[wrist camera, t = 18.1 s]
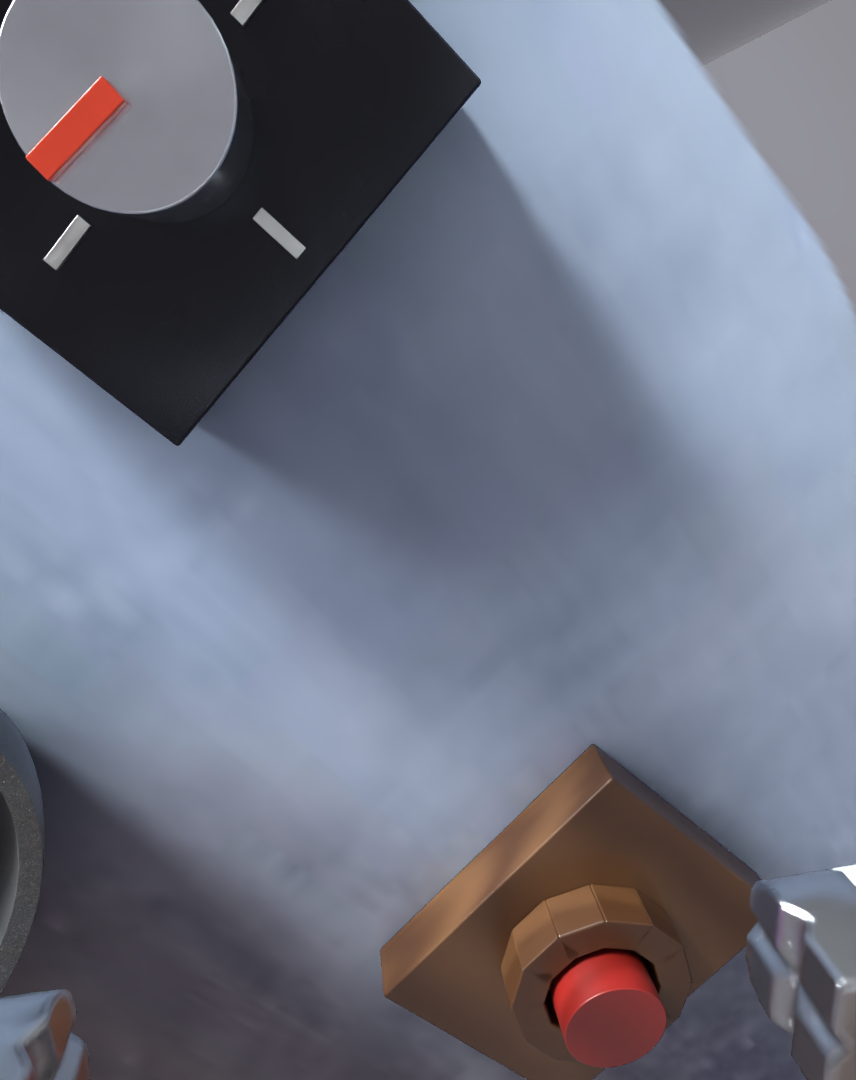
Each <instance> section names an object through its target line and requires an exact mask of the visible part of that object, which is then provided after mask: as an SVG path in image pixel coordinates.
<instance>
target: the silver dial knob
mask: <svg viewBox="0 0 856 1080" xmlns="http://www.w3.org/2000/svg"><path fill="white" fill-rule="evenodd" d="M0 102H1V105H2V109H3V112H4V115H5V118H6V120H7V122H8V125H9V127H10V130H11V132H12V133H13V135H14V137H15V139H16V141H17V143H18V144H19V146H20V148H21V149H22V150H23V152H24V153H25V155H26V157H25V158H26V159H27V160H28V161H29V162H30V163H31V164H32V165H33V166H34V167H35V168H36V169H37V170H38V171H39V173H40V174H41V175H42V176H43V177H44V178H45V179H46V180H48V181H50V182H51V183H52V184H53V185H55V186H56V187H57V188H59V189H60V190H62V191H63V192H64V193H66V194H67V195H69V196H71V197H73V198H74V199H76V200H78V201H80V202H82V203H84V204H87V205H89V206H92V207H94V208H97V209H100V210H104V211H108V212H111V213H116V214H121V215H125V216H130V217H134V218H139V219H143V220H148V221H153V222H161V223H178V222H185V221H189V220H193V219H196V218H199V217H201V216H204V215H206V214H208V213H210V212H211V211H213V210H215V209H216V208H218V207H219V206H220V205H221V204H223V203H224V202H225V201H226V200H227V199H228V198H229V197H230V196H231V195H232V194H233V192H234V191H235V190H236V189H237V187H238V185H239V184H240V182H241V181H242V179H243V177H244V175H245V173H246V171H247V168H248V165H249V162H250V159H251V155H252V149H253V144H254V121H253V113H252V108H251V103H250V100H249V96H248V93H247V90H246V88H245V85H244V83H243V81H242V79H241V76H240V74H239V72H238V70H237V68H236V65H235V63H234V61H233V59H232V57H231V54H230V52H229V50H228V48H227V46H226V43H225V41H224V39H223V37H222V35H221V33H220V31H219V29H218V28H217V26H216V24H215V22H214V21H213V19H212V17H211V16H210V15H209V13H208V12H207V11H206V9H205V8H204V7H203V5H202V4H201V3H200V2H199V1H198V0H13V2H12V3H11V5H10V7H9V9H8V11H7V13H6V15H5V18H4V21H3V23H2V26H1V29H0Z"/></svg>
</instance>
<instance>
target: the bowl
mask: <svg viewBox="0 0 856 1080" xmlns="http://www.w3.org/2000/svg"><path fill="white" fill-rule="evenodd" d="M43 864H44V811H43V803H42V795H41V788H40V784H39V780H38V776H37V772H36V769H35V765H34V762H33V760H32V757H31V755H30V752H29V750H28V747H27V745H26V743H25V741H24V740H23V738H22V736H21V734H20V733H19V731H18V729H17V728H16V726H15V725H14V724H13V723H12V721H11V720H10V719H9V717H8V716H7V715H6V714H5V713H4V712H3V711H2V710H1V709H0V994H1V993H2V991H3V989H4V988H5V986H6V984H7V982H8V980H9V979H10V977H11V975H12V973H13V971H14V969H15V967H16V965H17V963H18V961H19V959H20V956H21V954H22V951H23V949H24V947H25V944H26V942H27V939H28V937H29V934H30V930H31V927H32V924H33V921H34V918H35V915H36V910H37V906H38V901H39V897H40V892H41V883H42V874H43Z"/></svg>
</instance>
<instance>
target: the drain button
mask: <svg viewBox="0 0 856 1080" xmlns="http://www.w3.org/2000/svg"><path fill="white" fill-rule="evenodd" d="M551 996H552V1002H553V1005H554V1009H555V1012H556V1015H557V1018H558V1022H559V1025H560V1028H561V1031H562V1035H563V1038H564V1041H565V1044H566V1047H567V1049H568V1051H569V1052H570V1054H571V1055H572V1056H573V1057H574V1058H575V1059H577V1060H578V1061H580V1062H582V1063H584V1064H586V1065H589V1066H593V1067H600V1068H609V1067H617V1066H621V1065H625V1064H628V1063H630V1062H633V1061H635V1060H637V1059H639V1058H641V1057H642V1056H644V1055H645V1054H647V1053H648V1052H649V1051H650V1050H651V1049H652V1048H653V1047H654V1046H655V1045H656V1044H657V1043H658V1042H659V1040H660V1039H661V1037H662V1035H663V1033H664V1031H665V1028H666V1022H667V1015H666V1010H665V1008H664V1005H663V1003H662V1001H661V999H660V997H659V994H658V992H657V990H656V988H655V986H654V983H653V981H652V979H651V977H650V975H649V972H648V970H647V968H646V966H645V964H644V963H643V961H642V960H641V959H640V958H639V957H638V956H636V955H635V954H633V953H632V952H630V951H627V950H622V949H610V948H603V949H600V950H597V951H594V952H591V953H589V954H586V955H583V956H580V957H577V958H575V959H574V960H573V961H572V962H571V963H570V964H569V965H568V966H566V967H565V968H564V969H563V970H562V971H561V972H560V973H559V974H558V975H557V976H556V978H555V980H554V983H553V986H552V993H551Z"/></svg>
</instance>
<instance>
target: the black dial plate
mask: <svg viewBox="0 0 856 1080" xmlns="http://www.w3.org/2000/svg"><path fill="white" fill-rule="evenodd" d="M198 1H199V2H200V3H201V4H202V5H203V7H204V8H205V9H206V11H207V12H208V13H209V15H210V16H211V17H212V19H213V21H214V22H215V24H216V26H217V28H218V29H219V31H220V33H221V35H222V37H223V39H224V41H225V43H226V46H227V48H228V50H229V52H230V54H231V57H232V59H233V61H234V63H235V65H236V68H237V70H238V72H239V74H240V76H241V79H242V81H243V83H244V85H245V88H246V90H247V93H248V96H249V100H250V103H251V108H252V113H253V121H254V144H253V149H252V155H251V159H250V162H249V165H248V168H247V171H246V173H245V175H244V177H243V179H242V181H241V182H240V184H239V185H238V187H237V189H236V190H235V191H234V192H233V194H232V195H231V196H230V197H229V198H228V199H227V200H226V201H225V202H224V203H223V204H221V205H220V206H219V207H218V208H216V209H215V210H213V211H211V212H210V213H208V214H206V215H204V216H201V217H199V218H196V219H193V220H189V221H185V222H178V223H161V222H153V221H148V220H143V219H139V218H134V217H130V216H125V215H121V214H116V213H111V212H108V211H104V210H100V209H97V208H94V207H92V206H89V205H87V204H84V203H82V202H80V201H78V200H76V199H74V198H73V197H71V196H69V195H67V194H66V193H64V192H63V191H62V190H60V189H59V188H57V187H56V186H55V185H53V184H52V183H51V182H50V181H48V180H46V179H45V178H44V177H43V176H42V175H41V174H40V173H39V171H38V170H37V169H36V168H35V167H34V166H33V165H32V164H31V163H30V162H29V161H28V160H27V159H26V158H25V157H26V155H25V153H24V152H23V150H22V149H21V148H20V146H19V144H18V143H17V141H16V139H15V137H14V135H13V133H12V132H11V130H10V127H9V125H8V122H7V120H6V118H5V115H4V112H3V109H2V105H1V102H0V309H1V310H2V311H4V312H5V313H6V314H7V315H9V316H10V317H11V318H13V319H14V320H15V321H16V322H18V323H19V324H20V325H22V326H23V327H24V328H25V329H27V330H28V331H29V332H31V333H32V334H33V335H34V336H36V337H37V338H38V339H40V340H41V341H42V342H43V343H45V344H46V345H47V346H49V347H50V348H51V349H52V350H54V351H55V352H56V353H58V354H59V355H60V356H61V357H63V358H64V359H65V360H67V361H68V362H69V363H70V364H72V365H73V366H74V367H76V368H77V369H78V370H79V371H81V372H82V373H83V374H85V375H86V376H87V377H88V378H90V379H91V380H92V381H94V382H95V383H96V384H97V385H99V386H100V387H101V388H103V389H104V390H105V391H106V392H108V393H109V394H110V395H112V396H113V397H114V398H115V399H117V400H118V401H119V402H121V403H122V404H123V405H124V406H126V407H127V408H128V409H130V410H131V411H132V412H133V413H135V414H136V415H137V416H139V417H140V418H141V419H142V420H144V421H145V422H146V423H148V424H149V425H150V426H151V427H153V428H154V429H155V430H157V431H158V432H159V433H160V434H162V435H163V436H164V437H166V438H167V439H168V440H169V441H171V442H172V443H173V444H175V445H176V446H179V445H180V444H181V443H182V442H183V441H184V440H185V438H186V437H187V436H188V435H189V434H190V432H191V431H192V430H193V429H194V428H195V426H196V425H197V424H198V423H199V422H200V420H201V419H202V418H203V417H204V416H205V414H206V413H207V412H208V411H209V410H210V408H211V407H212V406H213V405H214V404H215V402H216V401H217V400H218V399H219V398H220V396H221V395H222V394H223V393H224V392H225V390H226V389H227V388H228V387H229V386H230V384H231V383H232V382H233V381H234V380H235V378H236V377H237V376H238V375H239V374H240V372H241V371H242V370H243V369H244V368H245V366H246V365H247V364H248V363H249V362H250V360H251V359H252V358H253V357H254V356H255V354H256V353H257V352H258V351H259V350H260V348H261V347H262V346H263V345H264V344H265V342H266V341H267V340H268V339H269V338H270V336H271V335H272V334H273V333H274V332H275V330H276V329H277V328H278V327H279V326H280V324H281V323H282V322H283V321H284V320H285V318H286V317H287V316H288V315H289V314H290V312H291V311H292V310H293V309H294V308H295V306H296V305H297V304H298V303H299V302H300V300H301V299H302V298H303V297H304V296H305V294H306V293H307V292H308V291H309V290H310V288H311V287H312V286H313V285H314V284H315V282H316V281H317V280H318V279H319V278H320V276H321V275H322V274H323V273H324V272H325V270H326V269H327V268H328V267H329V266H330V264H331V263H332V262H333V261H334V260H335V258H336V257H337V256H338V255H339V254H340V252H341V251H342V250H343V249H344V248H345V246H346V245H347V244H348V243H349V242H350V240H351V239H352V238H353V237H354V236H355V234H356V233H357V232H358V231H359V230H360V228H361V227H362V226H363V225H364V224H365V222H366V221H367V220H368V219H369V218H370V216H371V215H372V214H373V213H374V212H375V210H376V209H377V208H378V207H379V206H380V204H381V203H382V202H383V201H384V200H385V198H386V197H387V196H388V195H389V194H390V192H391V191H392V190H393V189H394V188H395V186H396V185H397V184H398V183H399V182H400V180H401V179H402V178H403V177H404V176H405V174H406V173H407V172H408V171H409V170H410V168H411V167H412V166H413V165H414V164H415V162H416V161H417V160H418V159H419V158H420V156H421V155H422V154H423V153H424V152H425V150H426V149H427V148H428V147H429V146H430V144H431V143H432V142H433V141H434V140H435V138H436V137H437V136H438V135H439V134H440V132H441V131H442V130H443V129H444V128H445V126H446V125H447V124H448V123H449V122H450V120H451V119H452V118H453V117H454V116H455V114H456V113H457V112H458V111H459V110H460V109H461V107H462V106H463V105H464V104H465V103H466V101H467V100H468V99H469V98H470V97H471V95H472V94H473V93H474V92H475V91H476V89H477V88H478V87H479V86H480V84H481V80H480V79H479V77H478V76H477V75H476V74H475V73H474V72H473V71H472V70H471V69H470V68H469V66H468V65H467V64H466V63H465V62H464V61H463V60H462V59H461V58H460V57H459V55H458V54H457V53H456V52H455V51H454V50H453V49H452V48H451V47H450V46H449V44H448V43H447V42H446V41H445V40H444V39H443V38H442V37H441V36H440V35H439V33H438V32H437V31H436V30H435V29H434V28H433V27H432V26H431V25H430V24H429V22H428V21H427V20H426V19H425V18H424V17H423V16H422V15H421V14H420V13H419V11H418V10H417V9H416V8H415V7H414V6H413V5H412V4H411V3H410V2H409V0H198ZM12 2H13V0H0V29H1V26H2V23H3V21H4V18H5V15H6V13H7V11H8V9H9V7H10V5H11V3H12Z"/></svg>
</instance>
